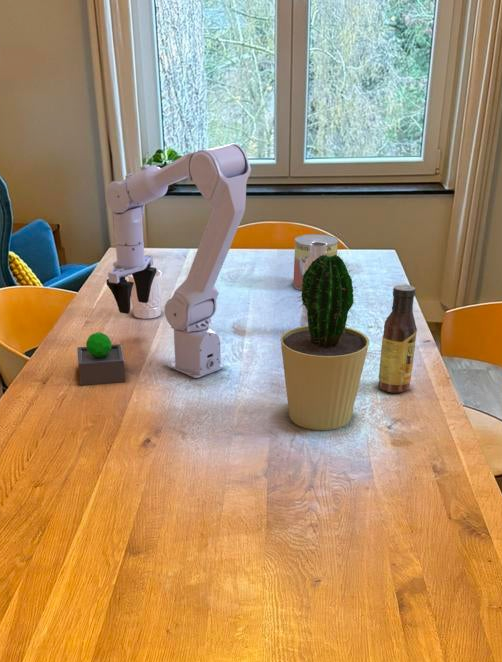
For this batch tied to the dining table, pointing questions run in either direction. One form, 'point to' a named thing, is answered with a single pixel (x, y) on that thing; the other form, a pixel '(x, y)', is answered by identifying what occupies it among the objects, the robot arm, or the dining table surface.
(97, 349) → the polyhedron
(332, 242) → the canned food
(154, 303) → the white cup
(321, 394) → the potted cactus
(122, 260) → the robot arm
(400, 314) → the sauce bottle
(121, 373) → the grey box
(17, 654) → the dining table surface
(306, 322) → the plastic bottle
